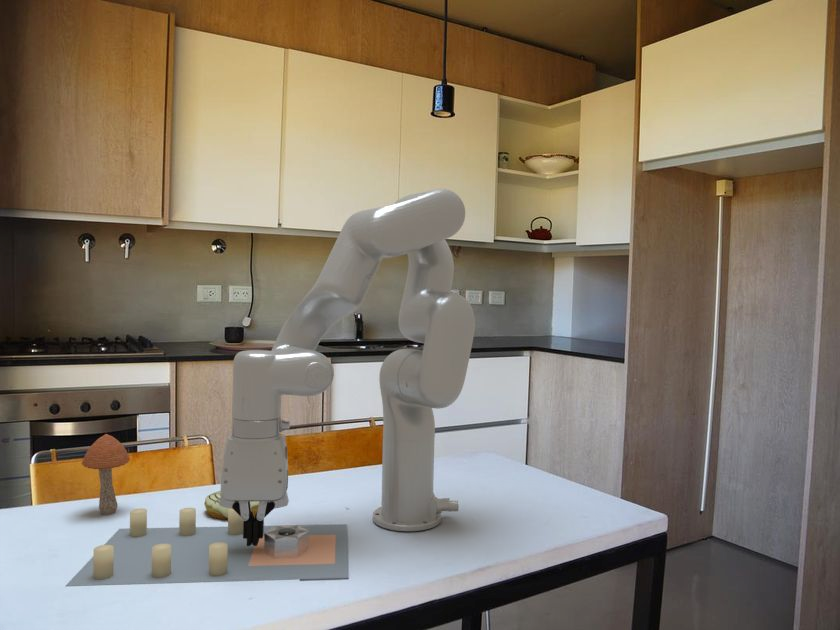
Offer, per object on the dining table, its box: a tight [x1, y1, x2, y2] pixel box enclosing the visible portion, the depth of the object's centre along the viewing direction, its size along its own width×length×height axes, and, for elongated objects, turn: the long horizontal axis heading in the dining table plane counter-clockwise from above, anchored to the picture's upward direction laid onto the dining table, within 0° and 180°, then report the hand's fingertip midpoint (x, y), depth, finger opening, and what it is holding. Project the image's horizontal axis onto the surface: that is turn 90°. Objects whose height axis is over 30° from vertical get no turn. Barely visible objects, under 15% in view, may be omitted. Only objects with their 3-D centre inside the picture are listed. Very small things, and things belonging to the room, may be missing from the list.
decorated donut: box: [203, 490, 259, 520], centre depth 121 cm, size 10×11×4 cm
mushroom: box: [81, 433, 131, 516], centre depth 118 cm, size 8×8×15 cm
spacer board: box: [65, 507, 349, 587], centre depth 102 cm, size 39×22×4 cm, turn 97°
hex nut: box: [264, 524, 309, 559], centre depth 103 cm, size 7×6×3 cm
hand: (253, 542), depth 103 cm, fingers closed
